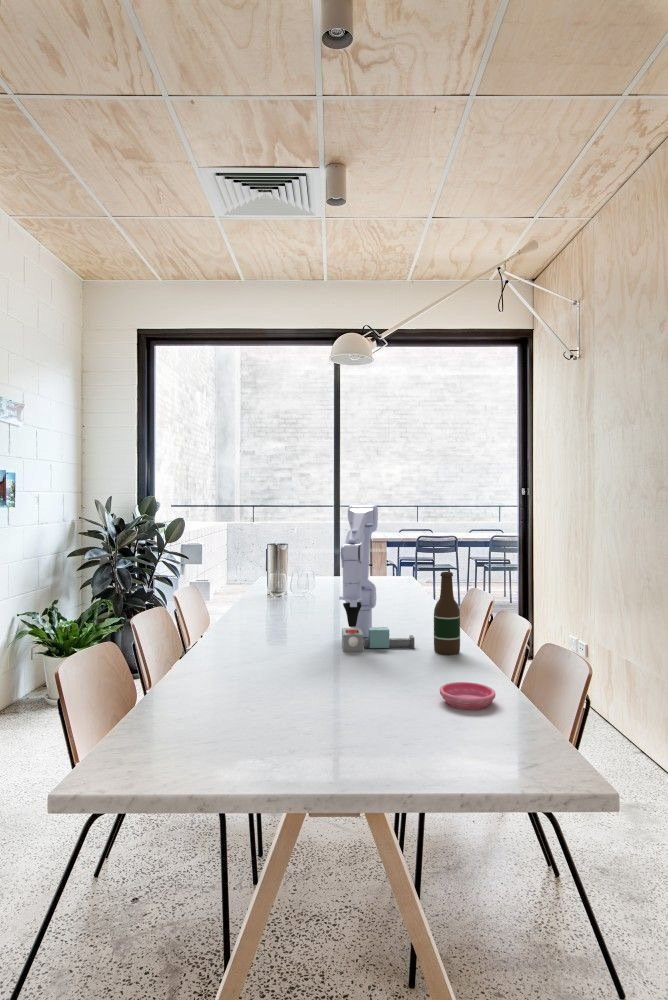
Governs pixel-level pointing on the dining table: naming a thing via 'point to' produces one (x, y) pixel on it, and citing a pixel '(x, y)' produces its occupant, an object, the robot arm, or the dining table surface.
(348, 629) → the plunger
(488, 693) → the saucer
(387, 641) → the block
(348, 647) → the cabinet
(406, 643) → the rail
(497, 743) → the dining table surface
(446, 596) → the beer bottle
